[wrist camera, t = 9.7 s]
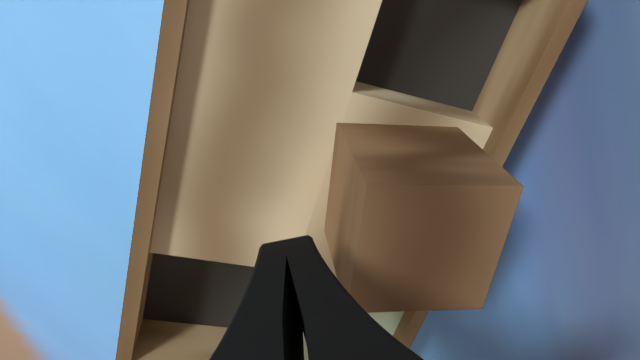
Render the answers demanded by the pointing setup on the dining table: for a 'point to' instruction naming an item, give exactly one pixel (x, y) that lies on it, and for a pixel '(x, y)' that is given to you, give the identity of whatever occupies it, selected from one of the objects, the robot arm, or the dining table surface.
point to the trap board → (301, 133)
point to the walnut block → (416, 216)
